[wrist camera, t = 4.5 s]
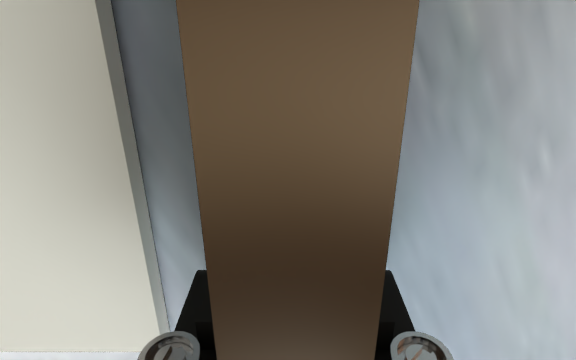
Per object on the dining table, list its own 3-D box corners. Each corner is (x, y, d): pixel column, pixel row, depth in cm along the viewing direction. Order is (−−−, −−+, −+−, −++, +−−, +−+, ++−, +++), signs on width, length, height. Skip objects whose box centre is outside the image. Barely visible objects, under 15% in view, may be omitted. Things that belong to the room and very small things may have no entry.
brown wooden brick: (380, 389, 15) (422, 558, 10) (205, 388, 15) (166, 556, 10) (479, -300, 7) (848, -927, 2) (111, -295, 7) (-233, -902, 2)
